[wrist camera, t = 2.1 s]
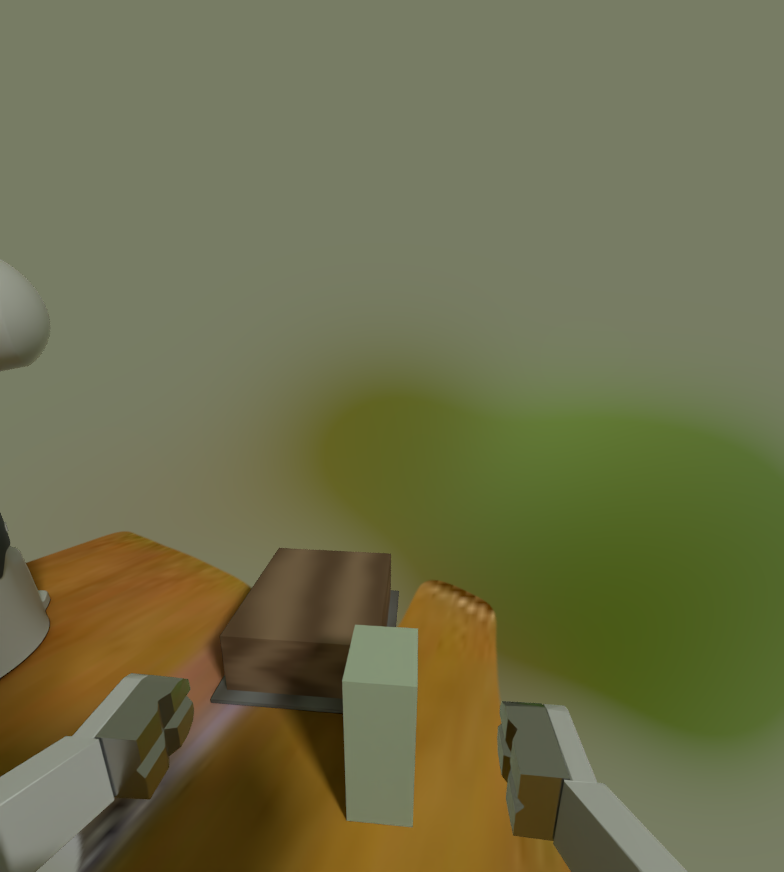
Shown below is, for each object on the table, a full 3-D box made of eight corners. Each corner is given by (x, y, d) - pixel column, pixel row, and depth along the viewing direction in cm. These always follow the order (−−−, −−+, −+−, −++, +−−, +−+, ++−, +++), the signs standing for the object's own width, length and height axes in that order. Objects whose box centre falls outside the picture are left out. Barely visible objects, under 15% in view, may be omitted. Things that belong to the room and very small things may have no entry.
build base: (211, 702, 33) (202, 644, 31) (277, 586, 48) (274, 543, 47) (388, 717, 32) (388, 657, 30) (398, 593, 47) (399, 549, 46)
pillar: (346, 820, 25) (342, 681, 22) (357, 749, 29) (355, 624, 26) (412, 827, 25) (417, 687, 22) (413, 754, 29) (417, 628, 26)
